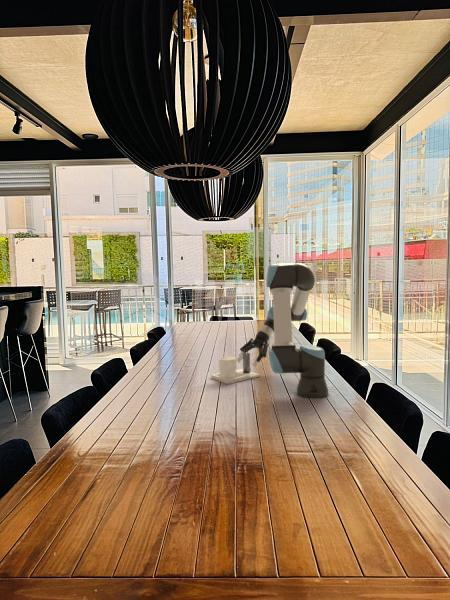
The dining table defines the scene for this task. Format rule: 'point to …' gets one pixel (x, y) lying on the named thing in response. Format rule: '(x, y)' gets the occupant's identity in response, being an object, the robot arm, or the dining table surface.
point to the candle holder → (227, 367)
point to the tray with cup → (239, 372)
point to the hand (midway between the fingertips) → (245, 363)
